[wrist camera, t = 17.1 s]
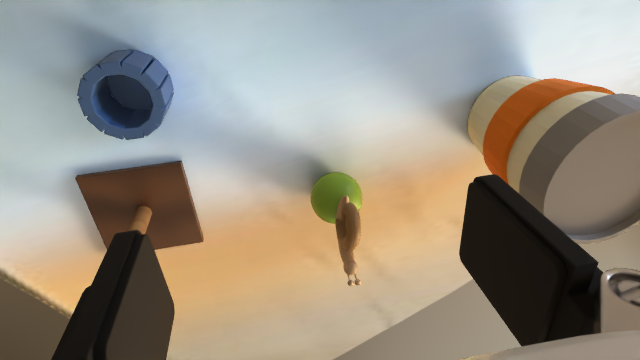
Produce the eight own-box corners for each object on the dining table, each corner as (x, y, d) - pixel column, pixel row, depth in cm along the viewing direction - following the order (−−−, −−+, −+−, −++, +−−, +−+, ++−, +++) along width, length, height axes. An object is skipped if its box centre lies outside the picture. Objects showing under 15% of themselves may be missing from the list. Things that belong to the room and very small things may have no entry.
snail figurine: (306, 214, 46) (325, 289, 35) (308, 164, 42) (329, 231, 32) (351, 211, 46) (383, 284, 36) (357, 162, 43) (393, 227, 33)
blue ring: (84, 54, 34) (64, 67, 30) (162, 45, 34) (152, 57, 30) (110, 124, 37) (95, 144, 33) (180, 115, 38) (173, 134, 34)
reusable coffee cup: (449, 175, 46) (529, 260, 33) (454, 69, 40) (554, 124, 27) (549, 154, 47) (664, 229, 34) (569, 47, 41) (719, 90, 28)
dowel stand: (77, 175, 39) (48, 212, 33) (181, 160, 40) (171, 194, 34) (111, 253, 44) (92, 297, 38) (203, 238, 45) (197, 279, 39)
